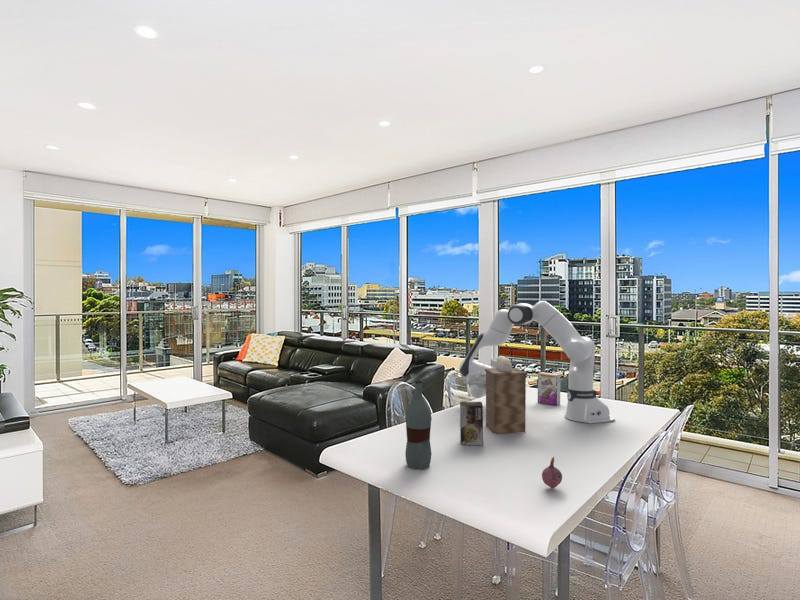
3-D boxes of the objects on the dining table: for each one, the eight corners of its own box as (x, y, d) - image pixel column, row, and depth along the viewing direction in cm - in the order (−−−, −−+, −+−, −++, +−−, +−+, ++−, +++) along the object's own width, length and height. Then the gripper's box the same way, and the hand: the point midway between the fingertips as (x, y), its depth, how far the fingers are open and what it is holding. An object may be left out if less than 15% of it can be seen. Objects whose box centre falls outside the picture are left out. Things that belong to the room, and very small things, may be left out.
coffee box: (482, 440, 192) (482, 401, 191) (483, 445, 185) (483, 405, 185) (459, 440, 193) (459, 400, 192) (460, 445, 186) (460, 404, 186)
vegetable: (551, 494, 141) (551, 461, 140) (537, 486, 146) (537, 454, 146) (566, 490, 143) (566, 458, 143) (552, 483, 149) (552, 452, 149)
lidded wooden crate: (516, 424, 215) (516, 368, 215) (527, 432, 202) (527, 372, 202) (484, 425, 214) (484, 368, 213) (493, 433, 201) (493, 373, 200)
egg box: (499, 365, 222) (499, 353, 222) (512, 371, 205) (512, 358, 205) (490, 365, 222) (490, 353, 222) (502, 371, 204) (502, 358, 204)
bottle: (435, 468, 161) (435, 381, 161) (410, 471, 158) (410, 383, 158) (426, 459, 170) (426, 377, 170) (402, 462, 167) (402, 378, 167)
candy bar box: (537, 402, 258) (537, 373, 258) (541, 401, 262) (541, 371, 262) (556, 405, 251) (557, 375, 250) (560, 404, 254) (560, 374, 254)
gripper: (462, 377, 242) (468, 367, 230) (500, 376, 244) (508, 366, 232) (464, 389, 239) (470, 379, 227) (502, 388, 241) (511, 379, 229)
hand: (490, 373), depth 230 cm, fingers open, 8 cm apart
